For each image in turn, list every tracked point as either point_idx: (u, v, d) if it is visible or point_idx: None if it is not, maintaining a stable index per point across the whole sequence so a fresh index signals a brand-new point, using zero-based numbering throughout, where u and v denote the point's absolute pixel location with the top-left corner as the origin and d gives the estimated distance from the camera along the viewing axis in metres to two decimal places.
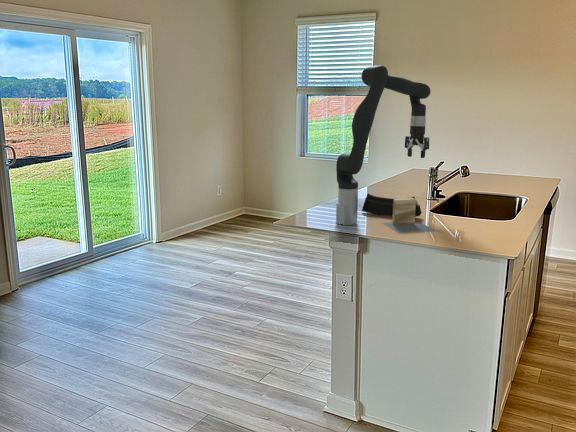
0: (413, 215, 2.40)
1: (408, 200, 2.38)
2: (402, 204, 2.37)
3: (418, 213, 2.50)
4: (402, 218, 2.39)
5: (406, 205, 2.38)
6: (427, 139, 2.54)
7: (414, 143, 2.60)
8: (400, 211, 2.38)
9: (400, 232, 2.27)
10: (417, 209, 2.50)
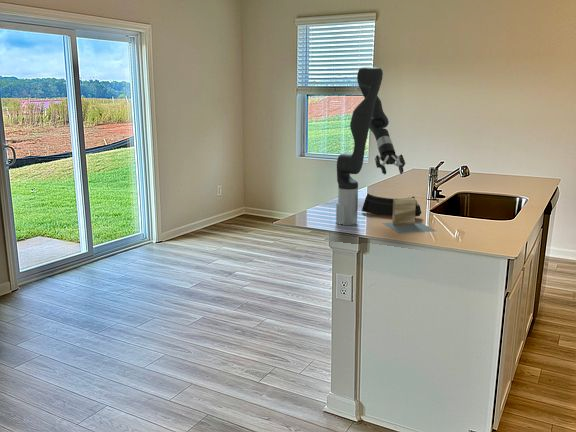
0: (413, 215, 2.40)
1: (408, 200, 2.38)
2: (402, 204, 2.37)
3: (418, 213, 2.50)
4: (402, 218, 2.39)
5: (406, 205, 2.38)
6: None
7: (389, 160, 2.52)
8: (400, 211, 2.38)
9: (400, 232, 2.27)
10: (417, 209, 2.50)
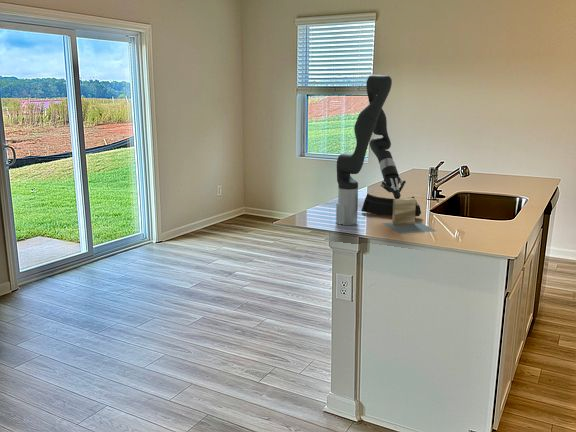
0: (413, 215, 2.40)
1: (408, 200, 2.38)
2: (402, 204, 2.37)
3: (418, 213, 2.51)
4: (402, 218, 2.39)
5: (406, 205, 2.38)
6: None
7: (394, 181, 2.50)
8: (400, 211, 2.38)
9: (400, 232, 2.27)
10: (417, 209, 2.50)
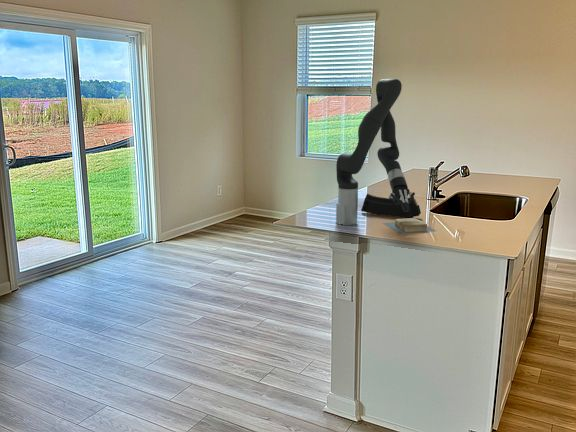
0: None
1: (418, 230, 2.29)
2: None
3: (417, 213, 2.51)
4: None
5: None
6: (413, 195, 2.42)
7: (403, 193, 2.41)
8: None
9: (400, 232, 2.27)
10: (416, 209, 2.50)
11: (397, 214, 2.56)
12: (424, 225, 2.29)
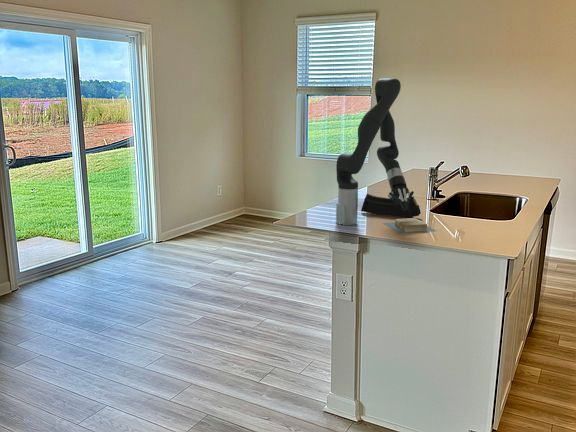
0: None
1: (418, 230, 2.29)
2: None
3: (417, 213, 2.51)
4: None
5: None
6: (412, 194, 2.43)
7: (402, 192, 2.42)
8: None
9: (400, 232, 2.27)
10: (416, 209, 2.50)
11: (397, 214, 2.56)
12: (424, 225, 2.29)
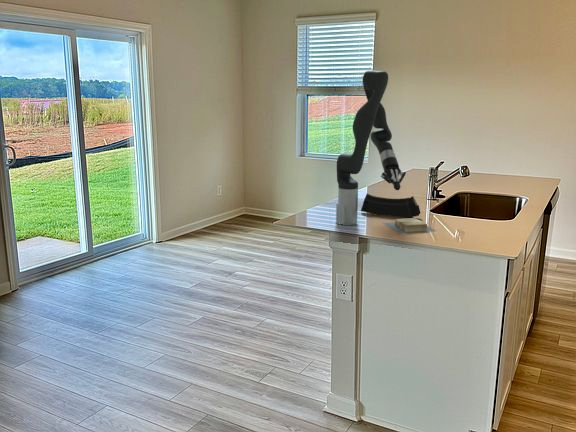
0: None
1: (418, 230, 2.29)
2: None
3: (417, 213, 2.51)
4: None
5: None
6: (404, 175, 2.51)
7: (395, 172, 2.49)
8: None
9: (400, 232, 2.27)
10: (416, 209, 2.50)
11: (396, 214, 2.56)
12: (424, 225, 2.29)
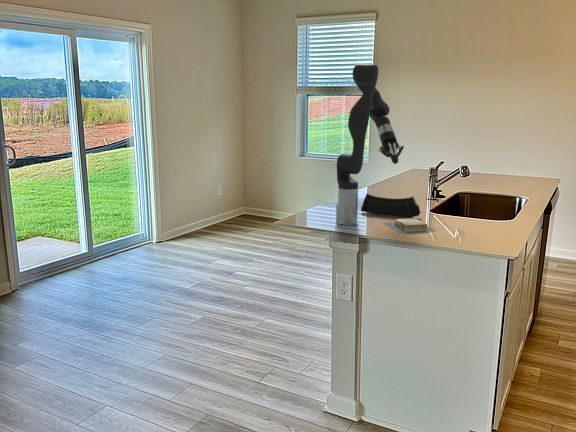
0: None
1: (418, 230, 2.29)
2: None
3: (417, 213, 2.51)
4: None
5: None
6: (402, 149, 2.52)
7: (392, 146, 2.51)
8: None
9: (400, 232, 2.27)
10: (416, 209, 2.51)
11: (396, 214, 2.56)
12: (424, 225, 2.29)
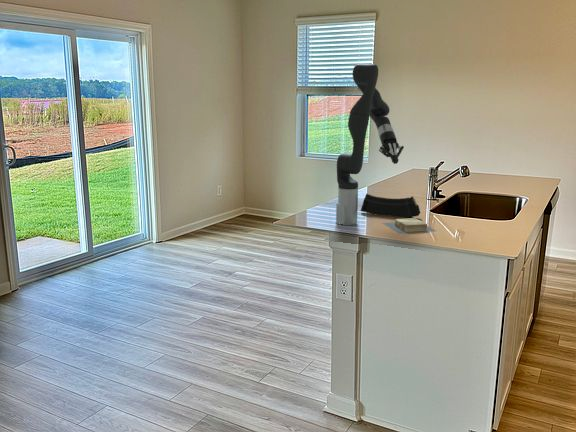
0: None
1: (418, 230, 2.29)
2: None
3: (417, 213, 2.51)
4: None
5: None
6: (402, 149, 2.52)
7: (392, 146, 2.51)
8: None
9: (400, 232, 2.27)
10: (416, 209, 2.51)
11: (396, 214, 2.56)
12: (424, 225, 2.29)
